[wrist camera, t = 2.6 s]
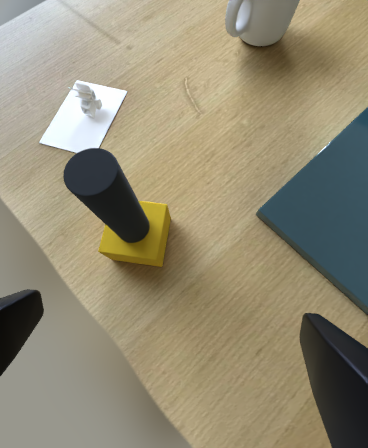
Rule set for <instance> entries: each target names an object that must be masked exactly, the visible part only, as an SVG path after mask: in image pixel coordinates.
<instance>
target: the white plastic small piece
mask: <svg viewBox="0 0 368 448" xmlns="http://www.w3.org/2000/svg"><path fill="white" fill-rule="evenodd" d="M75 86H76V88H75V89H74V91H75V92H77V93H76V94H75V95H74V97H75V98H78V99H79V107H80V109H81V112H82V114H83V115H85V116H87V117H90V118H92V119H94V118H95V117H96V113H97V110H98V111H100V110H101V109H102V107H103V106H104V105H103V102H102V100H101V99H100V98H99V97H97V94H96V92H95V90H94V89H93V88H91V87H90V86H89V85H88V84H86V82H83V81H78V80H77V81H76V83H75Z"/></svg>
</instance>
